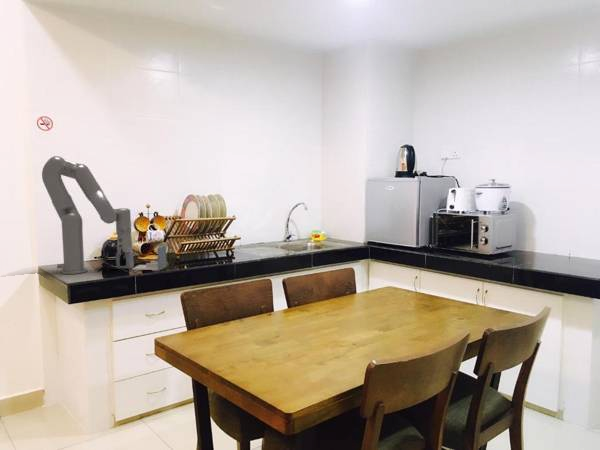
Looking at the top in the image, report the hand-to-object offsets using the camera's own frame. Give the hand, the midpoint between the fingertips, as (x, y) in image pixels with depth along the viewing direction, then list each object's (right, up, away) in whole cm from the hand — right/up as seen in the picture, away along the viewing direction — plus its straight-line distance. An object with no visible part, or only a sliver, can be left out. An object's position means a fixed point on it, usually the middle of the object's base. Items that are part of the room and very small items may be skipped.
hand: (125, 264), depth 269 cm
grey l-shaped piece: (+14, -2, -2) cm, 14 cm away
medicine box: (0, -2, 0) cm, 2 cm away
